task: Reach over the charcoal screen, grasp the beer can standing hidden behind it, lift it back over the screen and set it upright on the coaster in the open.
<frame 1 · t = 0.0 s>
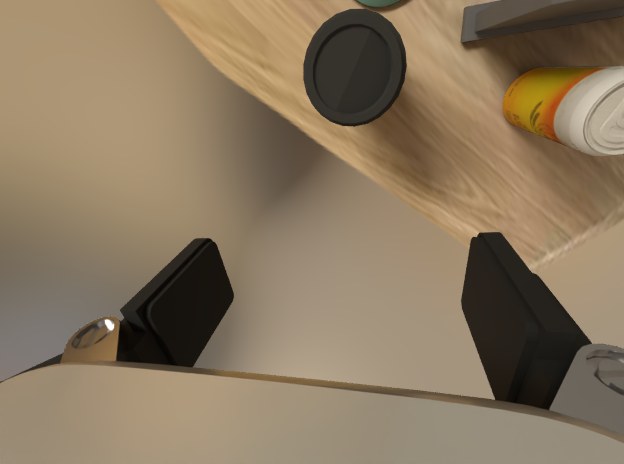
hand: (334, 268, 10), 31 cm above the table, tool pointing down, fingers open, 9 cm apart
beer can: (529, 97, 32), on the table
screen: (543, 11, 28), on the table
coffee cup: (360, 71, 34), on the table
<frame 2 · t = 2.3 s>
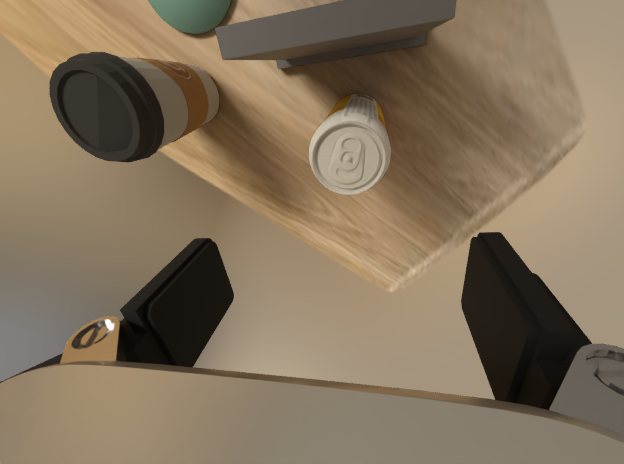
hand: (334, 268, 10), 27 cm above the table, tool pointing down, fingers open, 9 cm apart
beer can: (356, 121, 33), on the table
screen: (346, 40, 29), on the table
coffee cup: (197, 94, 34), on the table
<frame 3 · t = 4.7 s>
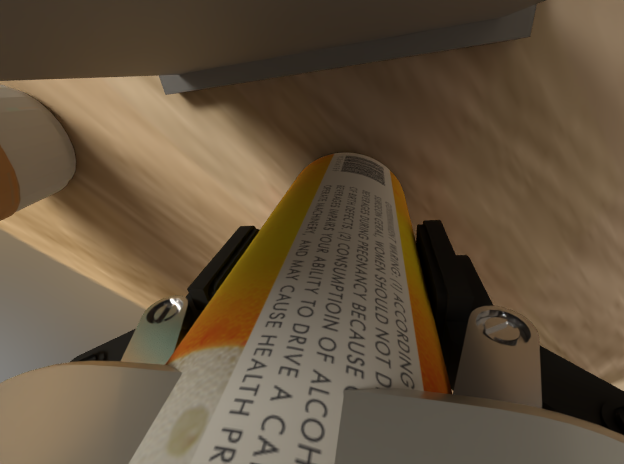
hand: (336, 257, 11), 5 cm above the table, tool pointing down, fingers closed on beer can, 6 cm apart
beer can: (346, 202, 16), on the table, touching gripper
screen: (320, 28, 12), on the table
coffee cup: (35, 139, 17), on the table
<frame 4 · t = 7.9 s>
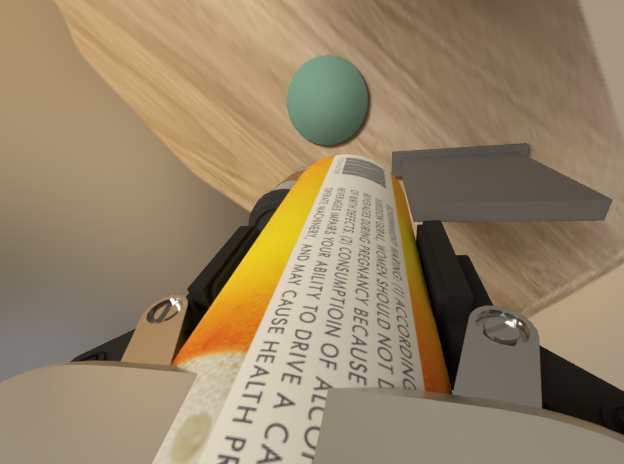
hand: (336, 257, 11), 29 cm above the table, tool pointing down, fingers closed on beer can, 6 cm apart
beer can: (347, 204, 16), point 23 cm above the table, touching gripper
screen: (454, 160, 35), on the table
coffee cup: (313, 186, 41), on the table
coaster: (327, 103, 35), on the table
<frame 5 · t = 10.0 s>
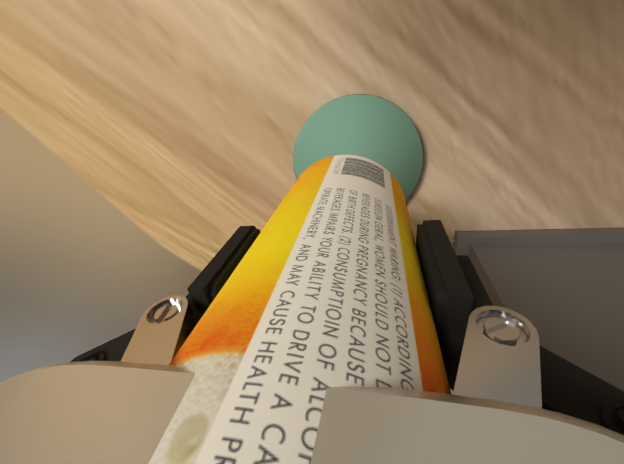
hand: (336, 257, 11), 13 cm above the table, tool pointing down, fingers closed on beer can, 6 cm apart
beer can: (346, 204, 16), point 8 cm above the table, touching gripper
screen: (553, 245, 23), on the table
coaster: (355, 163, 22), on the table
when the fingers open (7 cm above the table, at t = 11.6 s): beer can stays where it is, resting on coaster.
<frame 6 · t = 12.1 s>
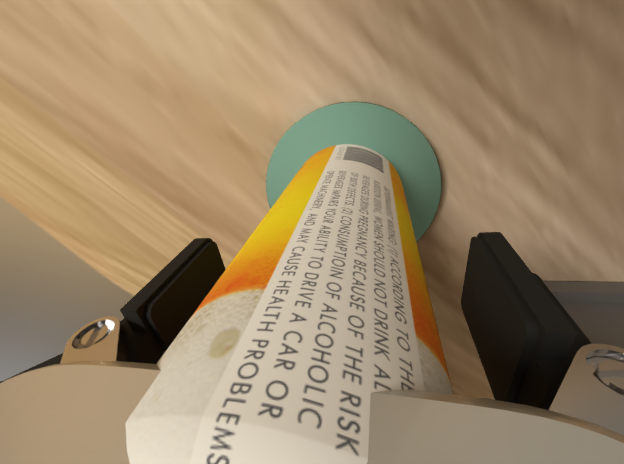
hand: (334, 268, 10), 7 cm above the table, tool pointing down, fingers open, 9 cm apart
beer can: (347, 192, 16), resting on coaster
screen: (613, 301, 17), on the table
coaster: (349, 192, 17), on the table
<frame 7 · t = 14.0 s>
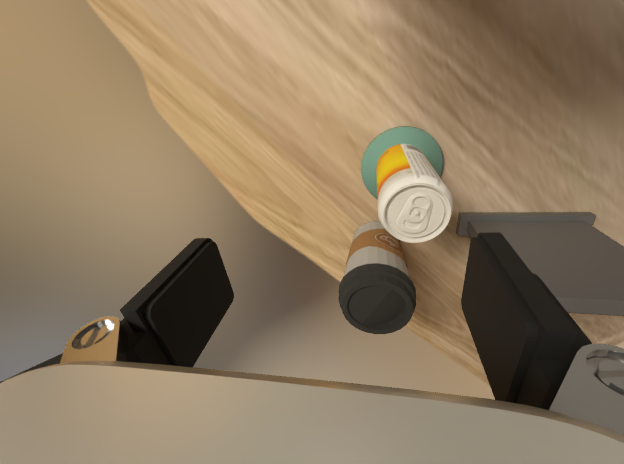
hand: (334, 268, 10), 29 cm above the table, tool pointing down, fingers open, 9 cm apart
beer can: (400, 166, 36), resting on coaster
screen: (519, 222, 37), on the table
coffee cup: (375, 238, 42), on the table
coaster: (400, 167, 36), on the table
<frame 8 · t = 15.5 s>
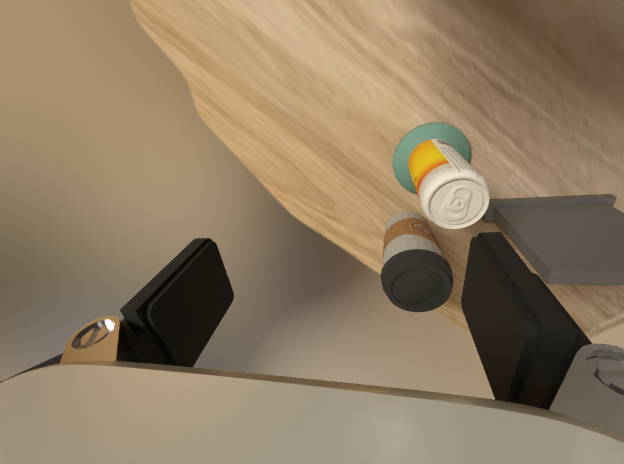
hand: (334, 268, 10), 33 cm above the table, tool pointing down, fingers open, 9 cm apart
beer can: (430, 159, 39), resting on coaster
screen: (542, 206, 40), on the table
coffee cup: (405, 226, 45), on the table
coaster: (429, 160, 39), on the table
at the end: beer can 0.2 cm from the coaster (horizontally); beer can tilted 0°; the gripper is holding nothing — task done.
